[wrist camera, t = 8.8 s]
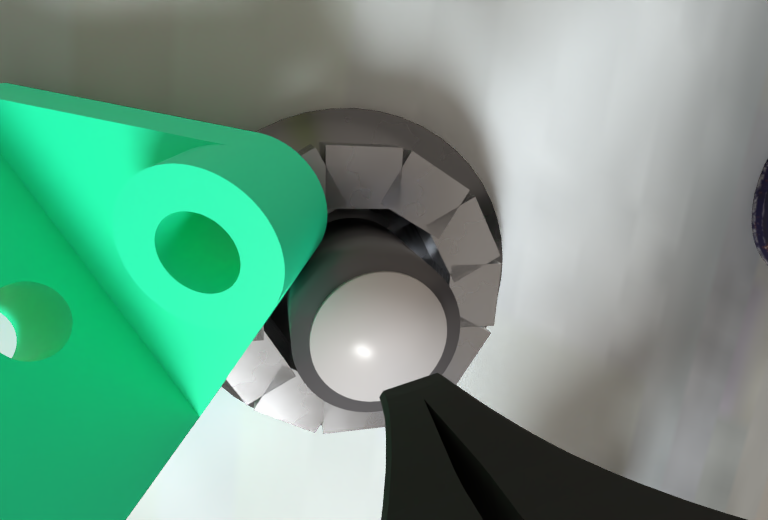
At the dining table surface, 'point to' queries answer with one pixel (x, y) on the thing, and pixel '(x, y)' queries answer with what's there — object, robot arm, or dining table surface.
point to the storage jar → (761, 214)
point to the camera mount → (130, 287)
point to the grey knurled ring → (402, 217)
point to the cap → (368, 316)
